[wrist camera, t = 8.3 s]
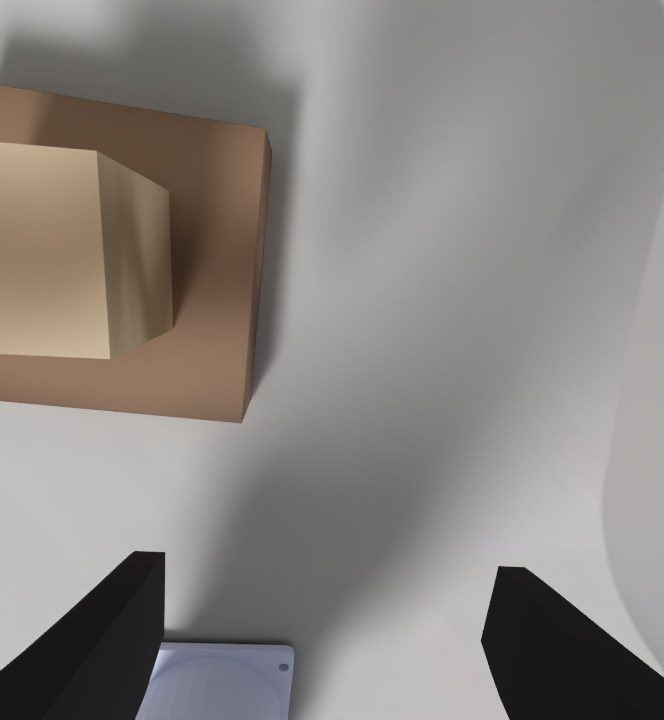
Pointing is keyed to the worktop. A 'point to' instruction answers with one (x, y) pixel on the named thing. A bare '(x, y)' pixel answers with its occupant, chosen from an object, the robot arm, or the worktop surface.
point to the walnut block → (188, 259)
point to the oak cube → (80, 254)
